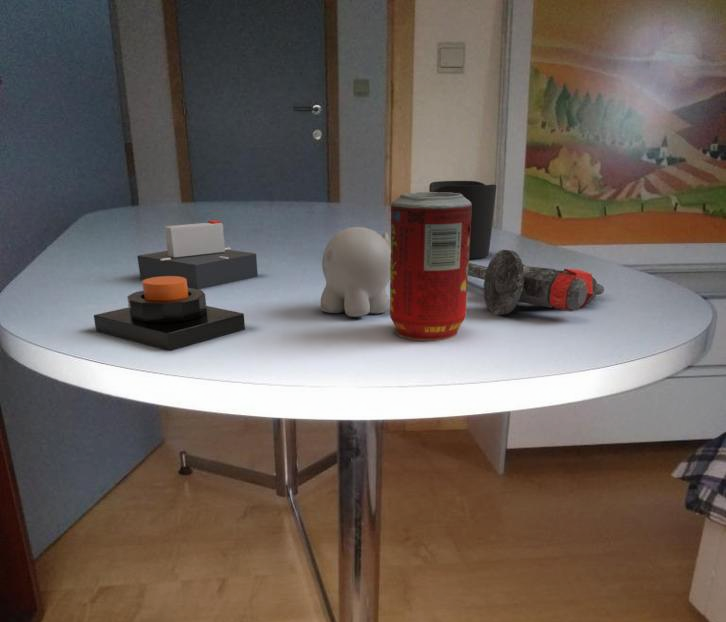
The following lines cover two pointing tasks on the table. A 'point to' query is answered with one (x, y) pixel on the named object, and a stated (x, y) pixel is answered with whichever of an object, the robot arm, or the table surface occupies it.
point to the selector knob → (195, 239)
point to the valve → (532, 285)
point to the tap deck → (200, 267)
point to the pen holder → (474, 211)
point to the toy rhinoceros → (356, 272)
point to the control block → (169, 321)
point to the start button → (165, 288)
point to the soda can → (429, 264)
